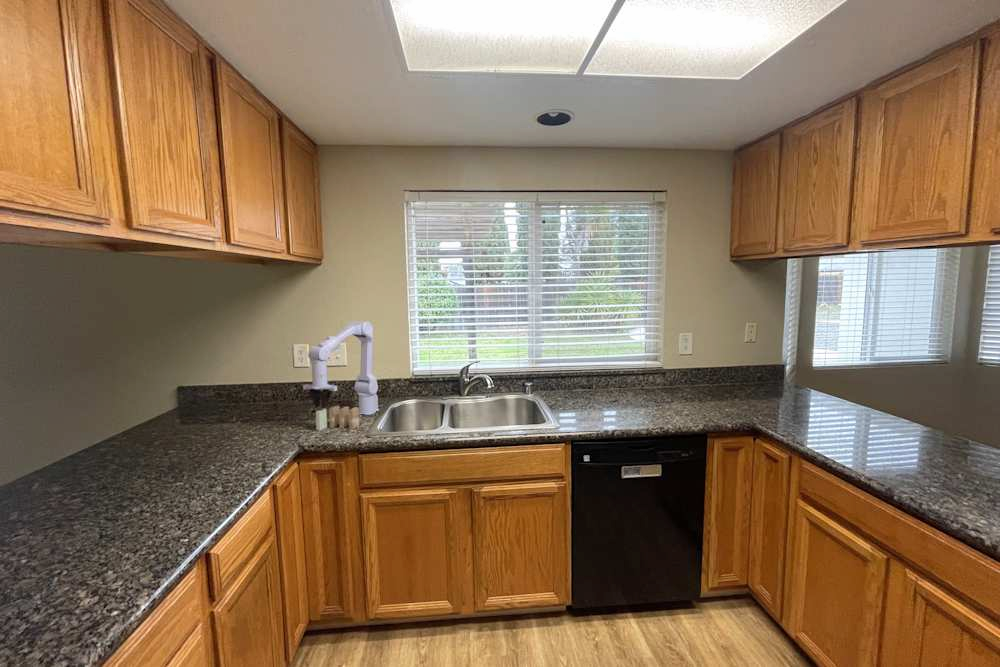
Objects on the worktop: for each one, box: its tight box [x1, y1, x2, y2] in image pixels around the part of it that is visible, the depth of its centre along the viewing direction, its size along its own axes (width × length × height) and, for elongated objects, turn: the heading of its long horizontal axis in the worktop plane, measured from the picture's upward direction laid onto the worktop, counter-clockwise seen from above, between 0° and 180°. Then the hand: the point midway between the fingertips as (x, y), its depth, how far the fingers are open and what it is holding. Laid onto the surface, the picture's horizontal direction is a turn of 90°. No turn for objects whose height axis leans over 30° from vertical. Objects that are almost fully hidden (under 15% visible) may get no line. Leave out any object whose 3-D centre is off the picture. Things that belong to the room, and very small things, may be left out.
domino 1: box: [315, 408, 328, 432], centre depth 175 cm, size 2×5×8 cm, turn 169°
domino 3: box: [339, 406, 350, 429], centre depth 178 cm, size 2×5×8 cm, turn 169°
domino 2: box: [328, 405, 341, 428], centre depth 179 cm, size 2×5×8 cm, turn 169°
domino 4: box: [348, 406, 360, 430], centre depth 177 cm, size 2×5×8 cm, turn 169°
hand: (320, 407), depth 174 cm, fingers open, 3 cm apart
